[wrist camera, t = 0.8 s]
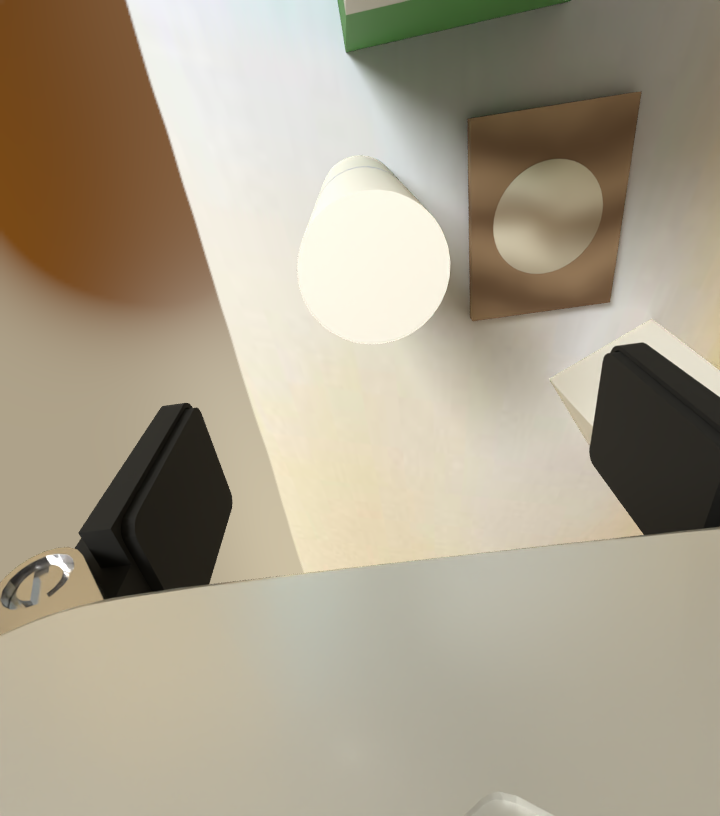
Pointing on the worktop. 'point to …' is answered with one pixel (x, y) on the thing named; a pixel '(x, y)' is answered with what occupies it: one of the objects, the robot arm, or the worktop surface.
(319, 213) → the cylindrical container
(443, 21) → the hardback book
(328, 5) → the worktop surface
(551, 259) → the walnut board
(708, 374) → the milk
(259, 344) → the worktop surface
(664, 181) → the worktop surface
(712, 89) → the worktop surface
